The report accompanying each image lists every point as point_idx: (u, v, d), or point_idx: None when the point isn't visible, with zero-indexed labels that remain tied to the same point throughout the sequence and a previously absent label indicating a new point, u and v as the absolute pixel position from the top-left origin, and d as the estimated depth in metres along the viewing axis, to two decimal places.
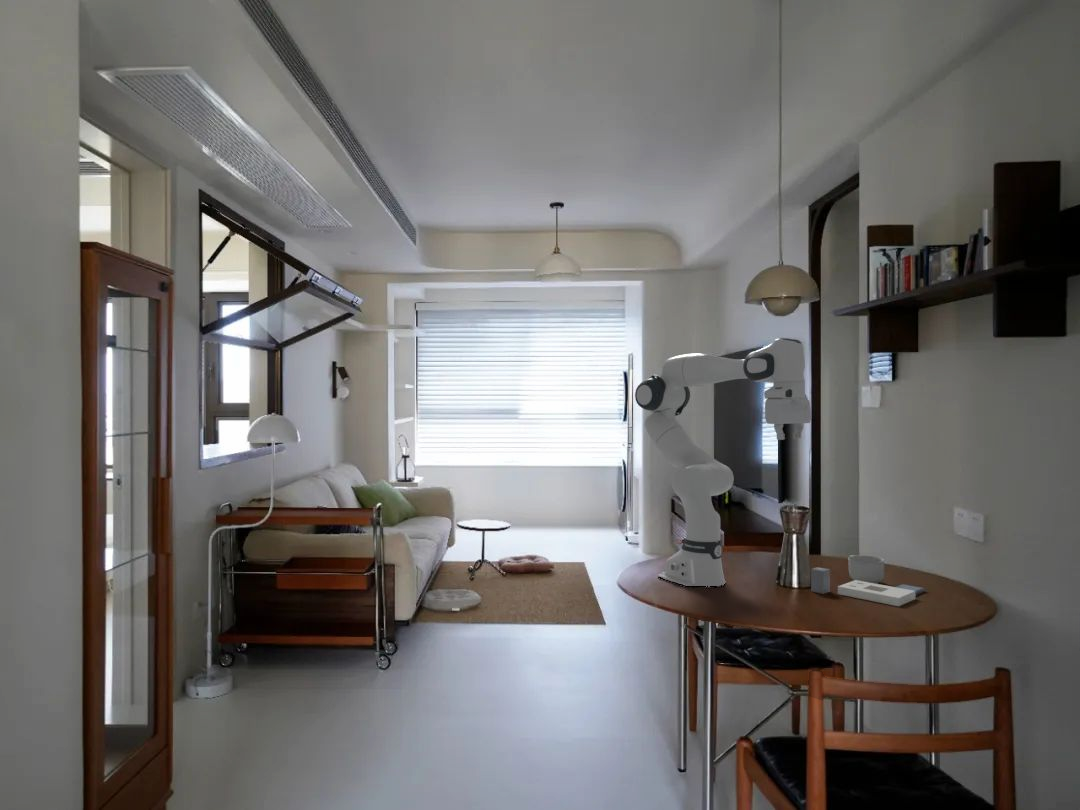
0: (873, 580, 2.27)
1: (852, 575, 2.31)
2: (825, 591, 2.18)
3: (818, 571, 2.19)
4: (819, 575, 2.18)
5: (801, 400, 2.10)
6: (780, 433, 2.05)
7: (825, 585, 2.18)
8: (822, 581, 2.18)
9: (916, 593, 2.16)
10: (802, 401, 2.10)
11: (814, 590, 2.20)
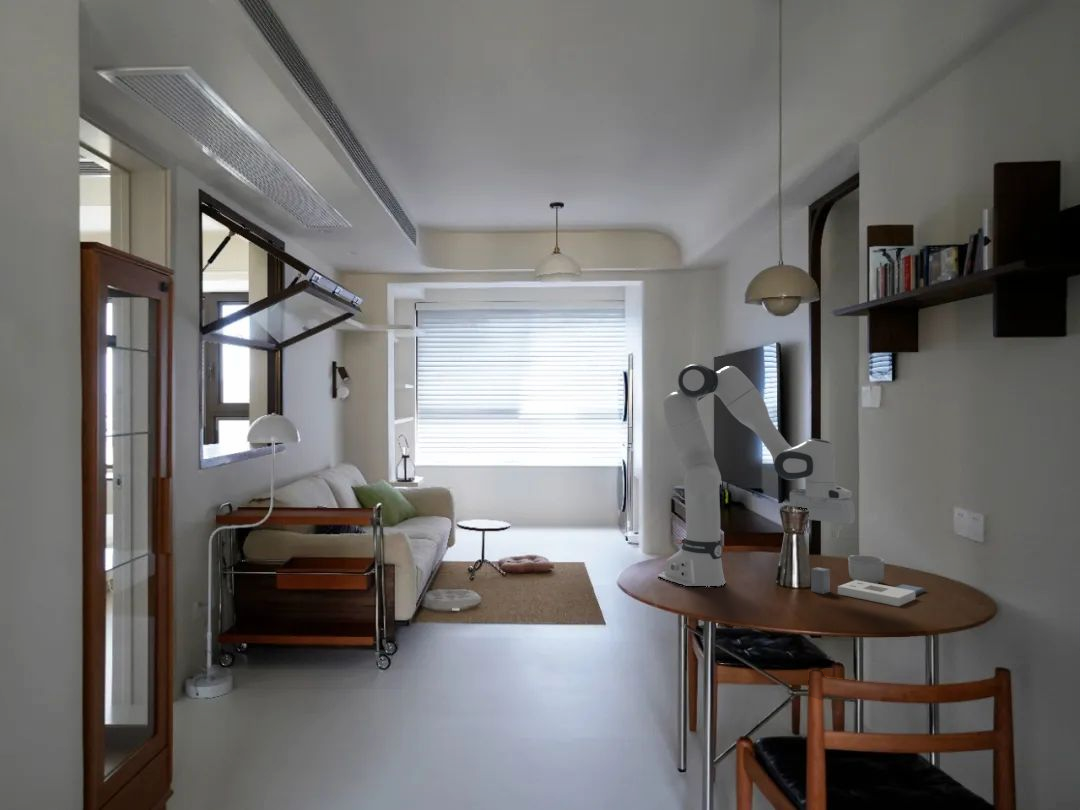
0: (873, 580, 2.27)
1: (852, 575, 2.31)
2: (825, 591, 2.18)
3: (818, 571, 2.19)
4: (819, 575, 2.18)
5: None
6: None
7: (825, 585, 2.18)
8: (822, 581, 2.18)
9: (916, 593, 2.16)
10: None
11: (814, 590, 2.20)
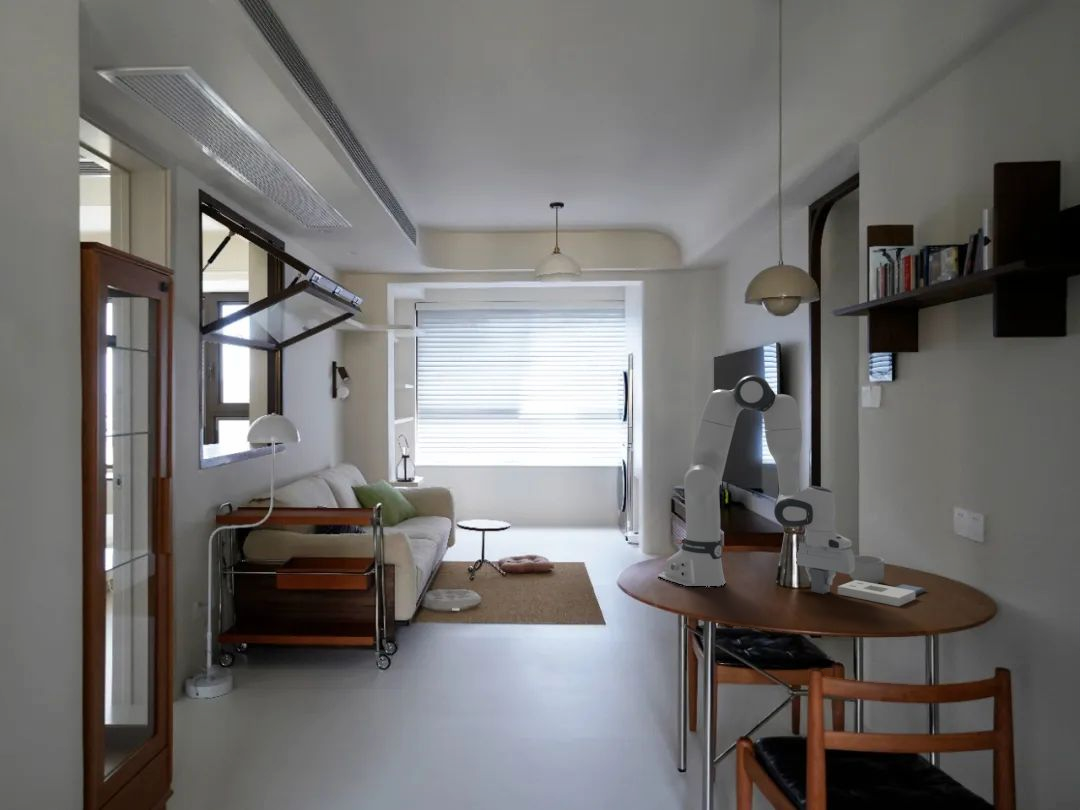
0: (873, 580, 2.27)
1: (852, 575, 2.31)
2: (825, 591, 2.18)
3: (818, 571, 2.19)
4: (819, 575, 2.18)
5: None
6: (832, 579, 2.18)
7: (825, 585, 2.18)
8: (822, 581, 2.18)
9: (916, 593, 2.16)
10: None
11: (814, 590, 2.20)
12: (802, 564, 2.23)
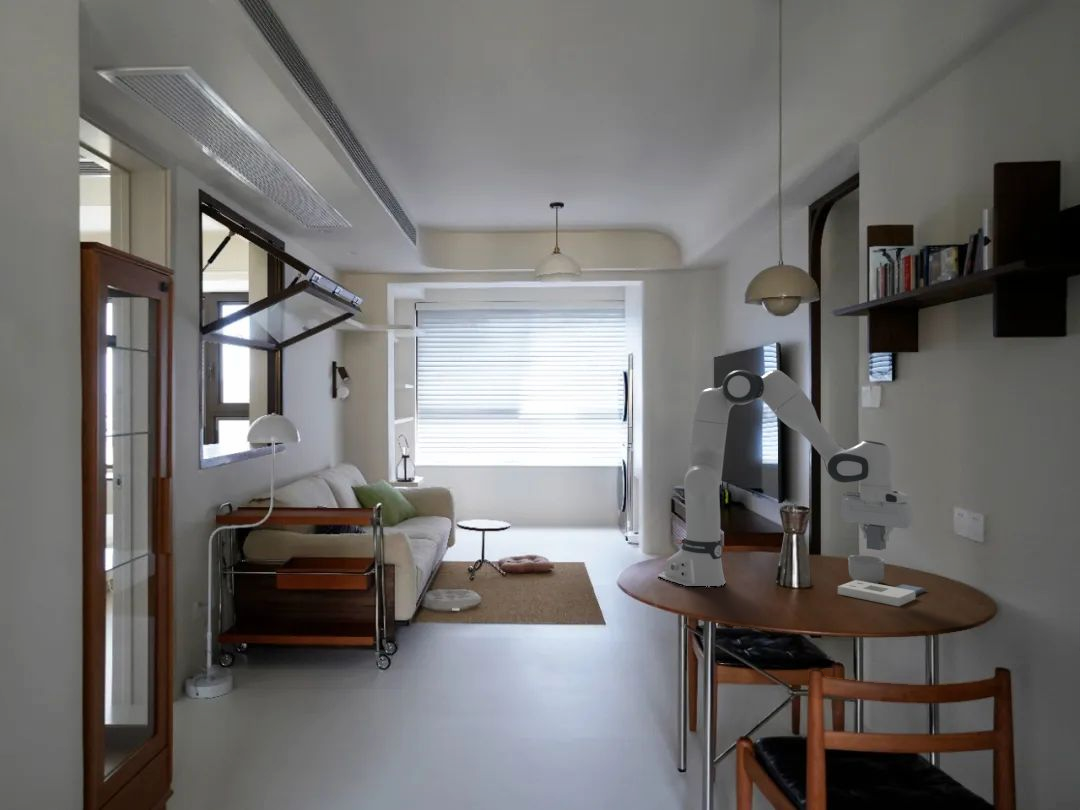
0: (873, 580, 2.27)
1: (852, 575, 2.31)
2: (881, 547, 2.12)
3: (874, 527, 2.13)
4: (875, 531, 2.12)
5: None
6: (888, 535, 2.12)
7: (881, 541, 2.12)
8: (878, 537, 2.12)
9: (916, 593, 2.16)
10: None
11: (870, 546, 2.14)
12: (856, 521, 2.17)
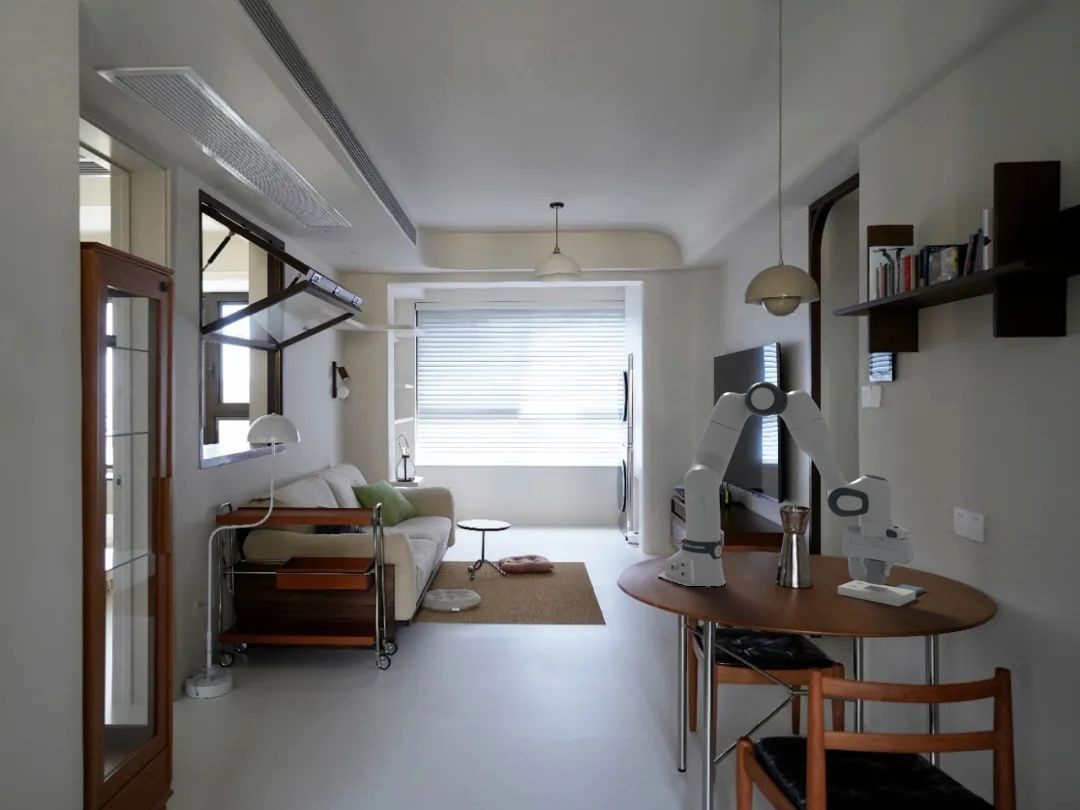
0: None
1: (852, 575, 2.31)
2: (882, 582, 2.12)
3: (874, 562, 2.13)
4: (876, 566, 2.12)
5: None
6: None
7: (881, 576, 2.12)
8: (879, 572, 2.12)
9: (916, 593, 2.16)
10: None
11: (870, 581, 2.14)
12: (857, 555, 2.17)
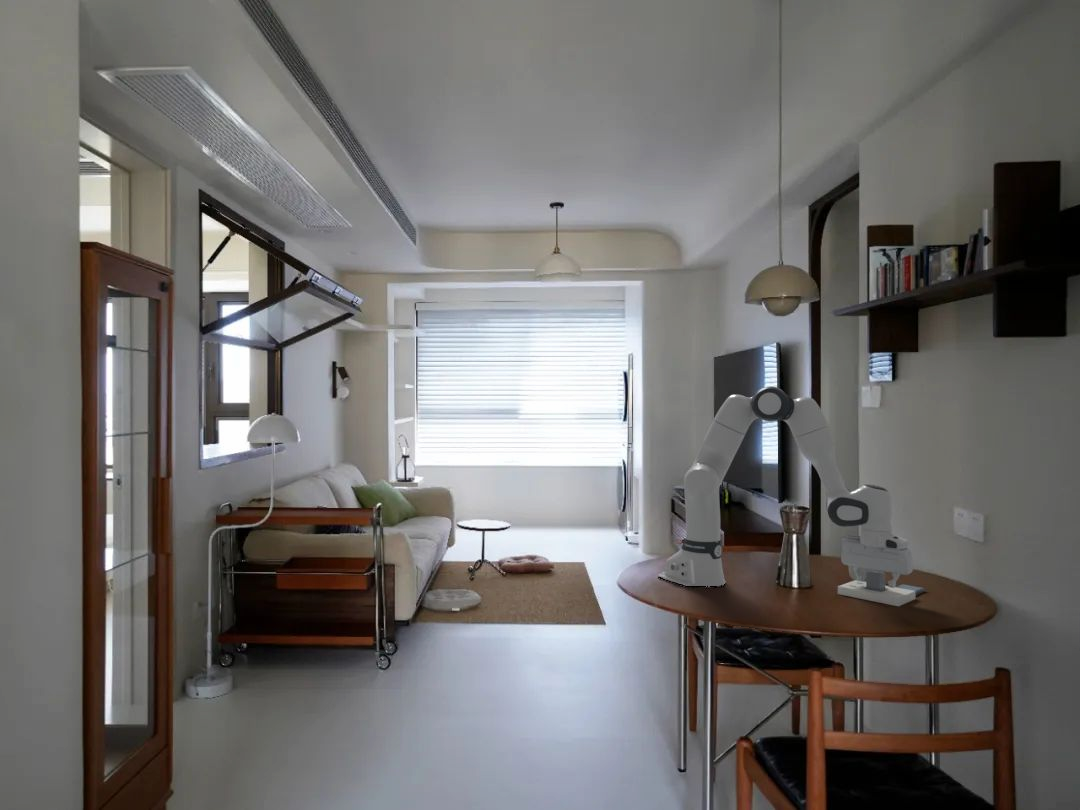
0: None
1: (852, 575, 2.31)
2: None
3: (874, 575, 2.13)
4: (875, 579, 2.12)
5: None
6: (895, 581, 2.10)
7: (881, 589, 2.12)
8: (878, 585, 2.12)
9: (916, 593, 2.16)
10: None
11: None
12: (856, 565, 2.17)
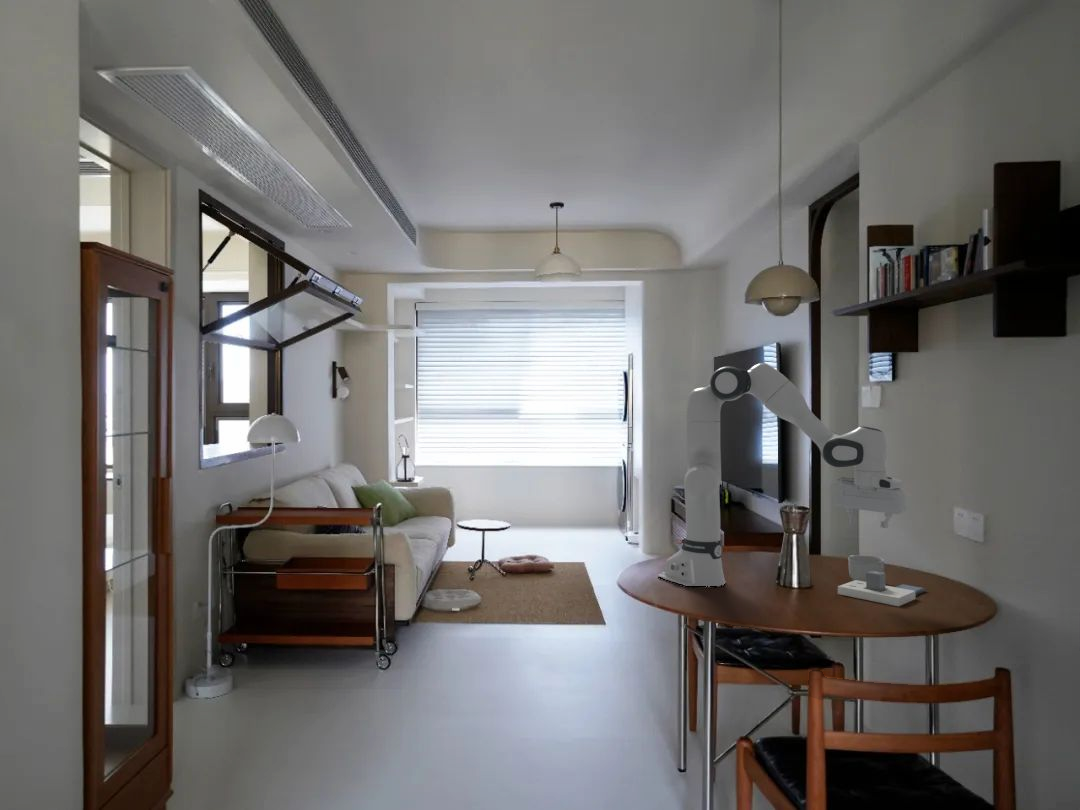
0: None
1: (852, 575, 2.31)
2: None
3: (874, 575, 2.13)
4: (875, 579, 2.12)
5: None
6: (888, 521, 2.11)
7: (881, 589, 2.12)
8: (878, 585, 2.12)
9: (916, 593, 2.16)
10: None
11: None
12: (849, 506, 2.18)
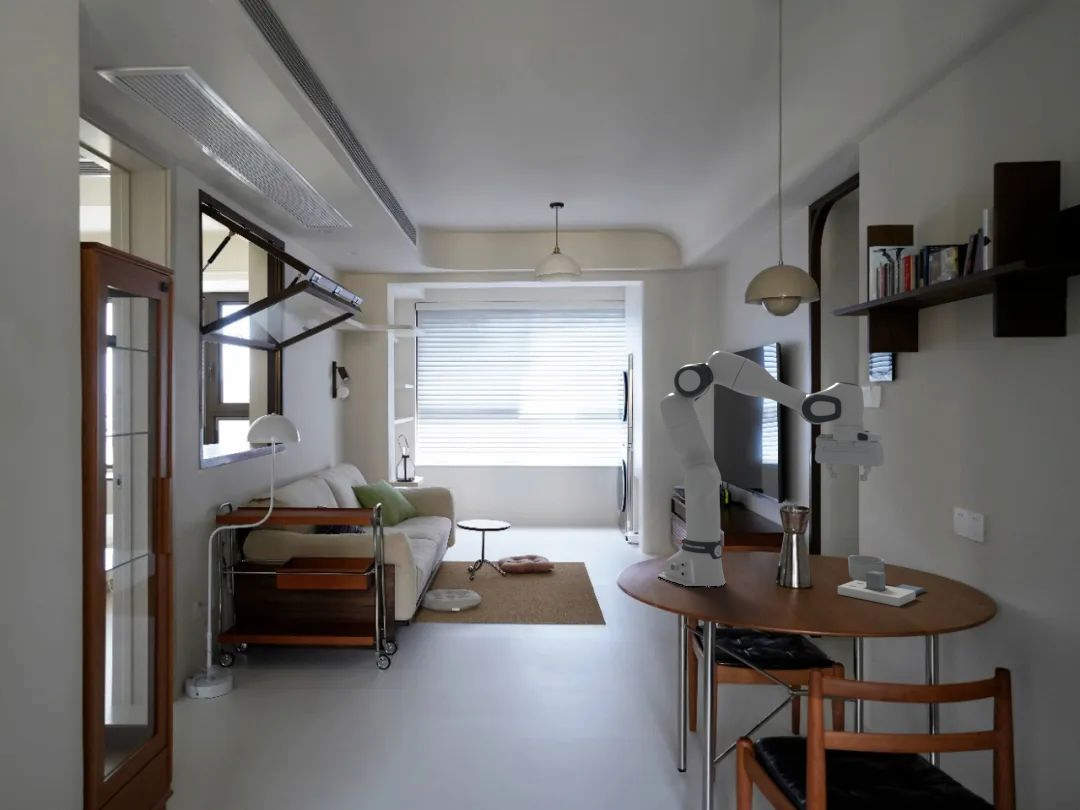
0: None
1: (852, 575, 2.31)
2: None
3: (874, 575, 2.13)
4: (875, 579, 2.12)
5: None
6: (867, 474, 2.14)
7: (881, 589, 2.12)
8: (878, 585, 2.12)
9: (916, 593, 2.16)
10: None
11: None
12: (829, 462, 2.20)
